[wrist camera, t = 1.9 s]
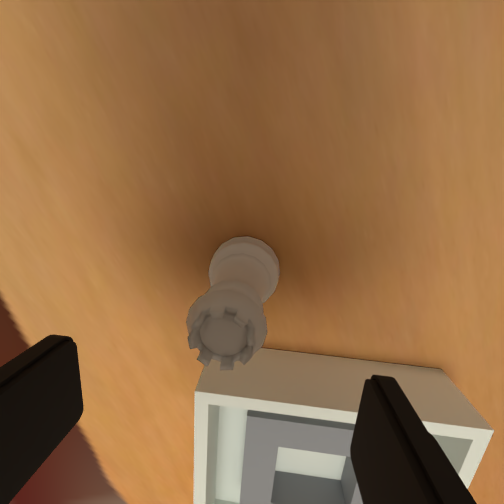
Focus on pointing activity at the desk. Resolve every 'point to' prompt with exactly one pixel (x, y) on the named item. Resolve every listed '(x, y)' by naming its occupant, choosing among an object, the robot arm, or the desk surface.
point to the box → (311, 426)
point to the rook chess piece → (234, 303)
